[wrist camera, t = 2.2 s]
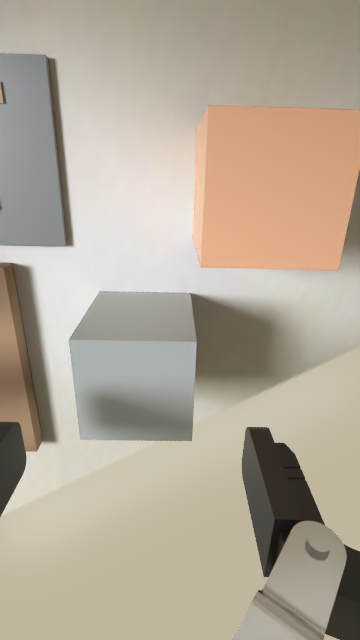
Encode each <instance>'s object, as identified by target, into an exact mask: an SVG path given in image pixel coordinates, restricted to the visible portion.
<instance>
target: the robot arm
mask: <svg viewBox="0 0 360 640" xmlns="http://www.w3.org/2000/svg"><path fill="white" fill-rule="evenodd" d="M25 466H26V452H25V446H24V441H23V436H22V430H21V426H20V424H19V422H0V516H1V514H2V513H3V511H4V509H5V507H6V505H7V503H8V501H9V499H10V498H11V496H12V494H13V492H14V490H15V488H16V486H17V484H18V482H19V481H20V479H21V477H22V475H23V473H24V470H25ZM242 475H243V481H244V485H245V490H246V495H247V500H248V505H249V509H250V514H251V518H252V523H253V528H254V533H255V537H256V542H257V547H258V551H259V556H260V561H261V565H262V570H263V575H264V577H269V578H268V580H267V582H266V584H265V586H264V588H263V589H262V591H260V590H259V591H258V592H257V593H256V595H255V597H254V598H253V600H252V602H251V604H250V606H249V608H248V610H247V612H246V614H245V616H244V618H243V620H242V622H241V624H240V626H239V628H238V630H237V632H236V634H235V636H234V638H233V640H323V639H324V634H327V635H330V636H332V637H335V638H337V639H340V640H360V552H359V551H357V550H354V549H352V548H350V547H348V546H346V545H344V544H343V543H342V541H341V540H340V538H339V537H338V536H337V535H336V534H335V533H334V532H333V531H332V530H331V529H330V528H328V527H326V526H325V524H324V522H323V520H322V517H321V515H320V513H319V510H318V508H317V505H316V503H315V501H314V498H313V496H312V494H311V491H310V489H309V486H308V484H307V482H306V481H305V477H304V475H303V472H302V470H301V469H300V465H299V463H298V460H297V458H296V456H295V454H294V453H293V452H292V451H291V450H290V449H289V447H287V445H286V444H284V443H274V440H273V438H272V435H271V432H270V430H269V428H267V427H264V428H263V427H247V429H246V433H245V441H244V449H243V458H242Z"/></svg>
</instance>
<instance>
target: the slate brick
mask: <svg viewBox="0 0 360 640" xmlns="http://www.w3.org/2000/svg"><path fill="white" fill-rule="evenodd" d="M69 345H70V354H71V362H72V371H73V380H74V389H75V397H76V406H77V415H78V424H79V432H80V440H149V441H192V428H193V408H194V388H195V368H196V348H197V340H196V332H195V324H194V316H193V308H192V300H191V293H159V292H108V291H100V292H99V293H98V295H97V297H96V298H95V300H94V301H93V303H92V304H91V306H90V308H89V309H88V311H87V312H86V314H85V315H84V317H83V318H82V320H81V322H80V323H79V325H78V326H77V328H76V329H75V331H74V333H73V334H72V336H71V337H70V339H69Z"/></svg>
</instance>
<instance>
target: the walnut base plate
mask: <svg viewBox="0 0 360 640" xmlns="http://www.w3.org/2000/svg"><path fill="white" fill-rule="evenodd" d="M0 422H19V424H20V426H21V430H22V436H23V441H24V446H25V451H37V450H38V448H39V446H40V444H41V442H42V435H41V429H40V423H39V417H38V411H37V405H36V400H35V394H34V388H33V382H32V376H31V370H30V364H29V359H28V353H27V347H26V341H25V335H24V329H23V324H22V318H21V312H20V306H19V300H18V294H17V289H16V283H15V277H14V271H13V265H12V263H0Z"/></svg>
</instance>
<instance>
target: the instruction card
mask: <svg viewBox="0 0 360 640" xmlns="http://www.w3.org/2000/svg"><path fill="white" fill-rule="evenodd" d="M0 245H22V246H67V238H66V228H65V219H64V209H63V200H62V190H61V181H60V171H59V161H58V152H57V142H56V133H55V123H54V114H53V104H52V95H51V85H50V76H49V66H48V57H47V56H46V55H33V54H4V53H0Z"/></svg>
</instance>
